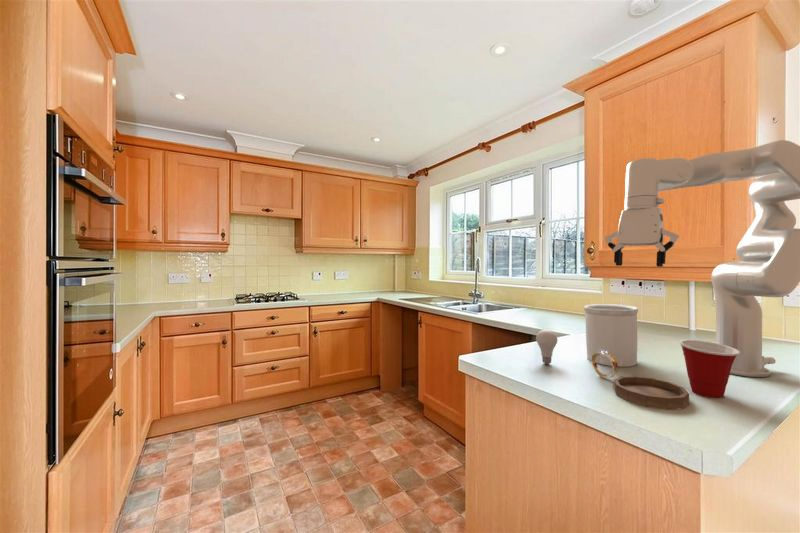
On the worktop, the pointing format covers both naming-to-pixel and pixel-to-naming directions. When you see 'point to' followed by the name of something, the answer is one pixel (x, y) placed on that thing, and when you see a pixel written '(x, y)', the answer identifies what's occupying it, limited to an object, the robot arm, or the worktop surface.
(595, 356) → the gold round band
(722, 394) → the plastic cup
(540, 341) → the lightbulb
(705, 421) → the worktop surface
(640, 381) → the ring dish
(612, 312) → the utensil holder
